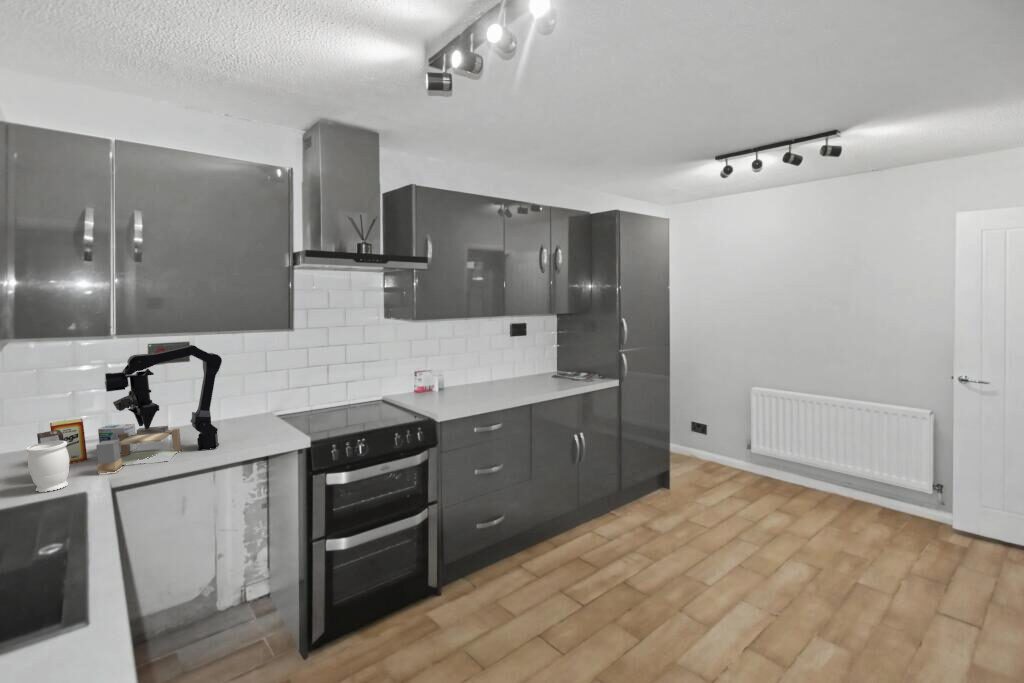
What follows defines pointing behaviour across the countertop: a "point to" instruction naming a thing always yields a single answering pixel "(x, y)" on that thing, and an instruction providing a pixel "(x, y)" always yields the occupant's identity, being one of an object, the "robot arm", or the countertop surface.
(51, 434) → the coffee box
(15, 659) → the countertop surface
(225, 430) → the countertop surface
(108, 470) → the plinth
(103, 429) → the light bulb box
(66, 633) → the countertop surface
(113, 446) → the basalt block
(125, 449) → the stand
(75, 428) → the baking soda box
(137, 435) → the trapdoor
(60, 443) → the jar
